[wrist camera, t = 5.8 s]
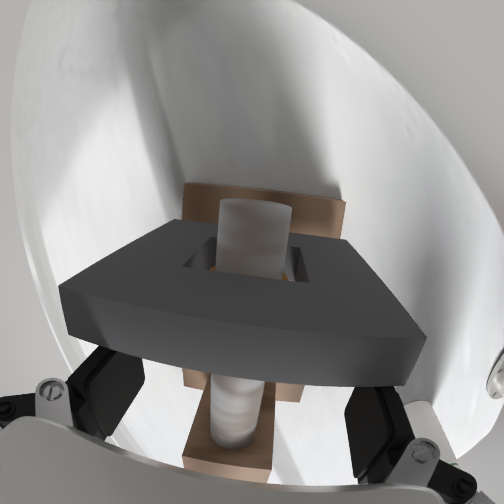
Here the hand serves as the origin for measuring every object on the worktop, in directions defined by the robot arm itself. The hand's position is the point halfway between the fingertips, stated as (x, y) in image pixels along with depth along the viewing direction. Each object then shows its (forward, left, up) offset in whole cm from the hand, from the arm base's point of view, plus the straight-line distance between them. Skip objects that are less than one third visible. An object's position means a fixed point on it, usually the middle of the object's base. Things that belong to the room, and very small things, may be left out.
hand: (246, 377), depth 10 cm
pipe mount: (+1, +4, -13) cm, 14 cm away
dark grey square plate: (+1, -3, -10) cm, 10 cm away
